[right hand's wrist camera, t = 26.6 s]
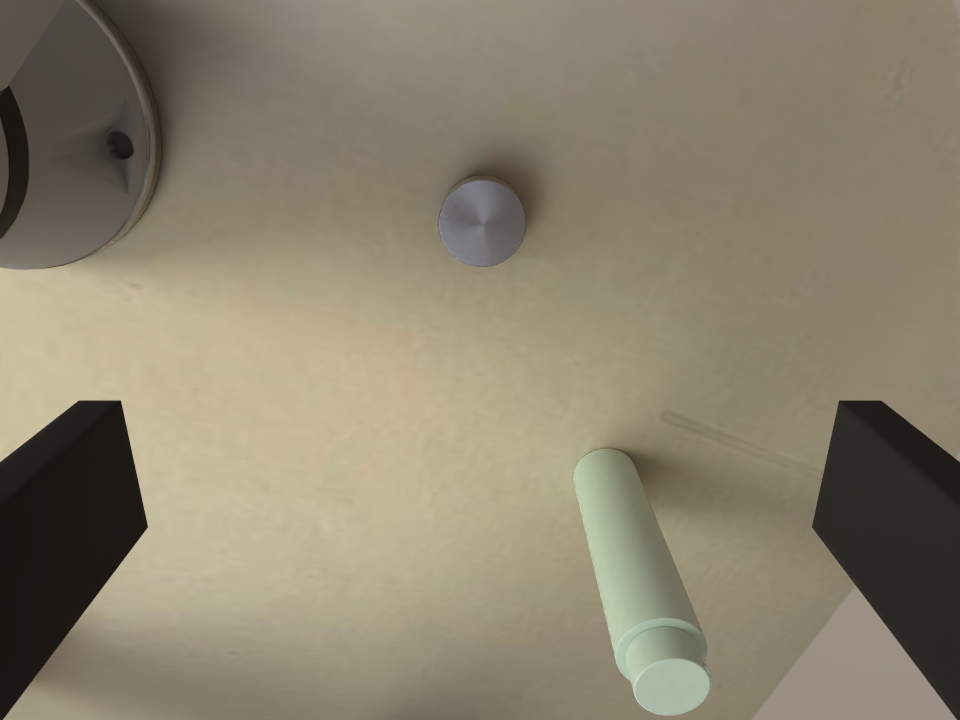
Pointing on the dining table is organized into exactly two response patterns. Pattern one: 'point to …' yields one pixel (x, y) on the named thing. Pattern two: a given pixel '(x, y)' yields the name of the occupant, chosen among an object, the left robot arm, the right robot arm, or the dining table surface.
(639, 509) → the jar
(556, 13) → the dining table surface
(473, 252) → the lid
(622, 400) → the dining table surface
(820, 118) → the dining table surface
